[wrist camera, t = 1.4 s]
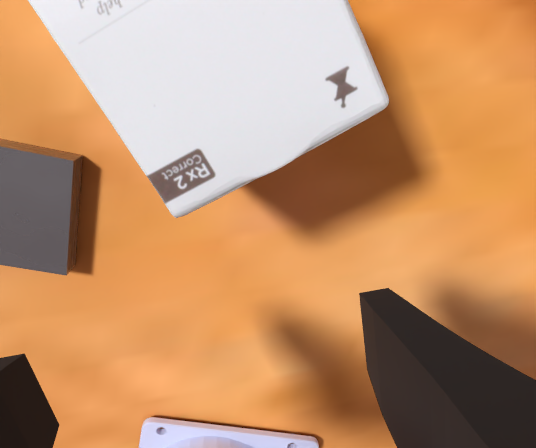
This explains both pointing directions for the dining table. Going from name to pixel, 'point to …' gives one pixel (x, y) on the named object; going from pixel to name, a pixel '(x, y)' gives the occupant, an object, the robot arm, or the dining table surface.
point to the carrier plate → (39, 207)
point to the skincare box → (218, 83)
